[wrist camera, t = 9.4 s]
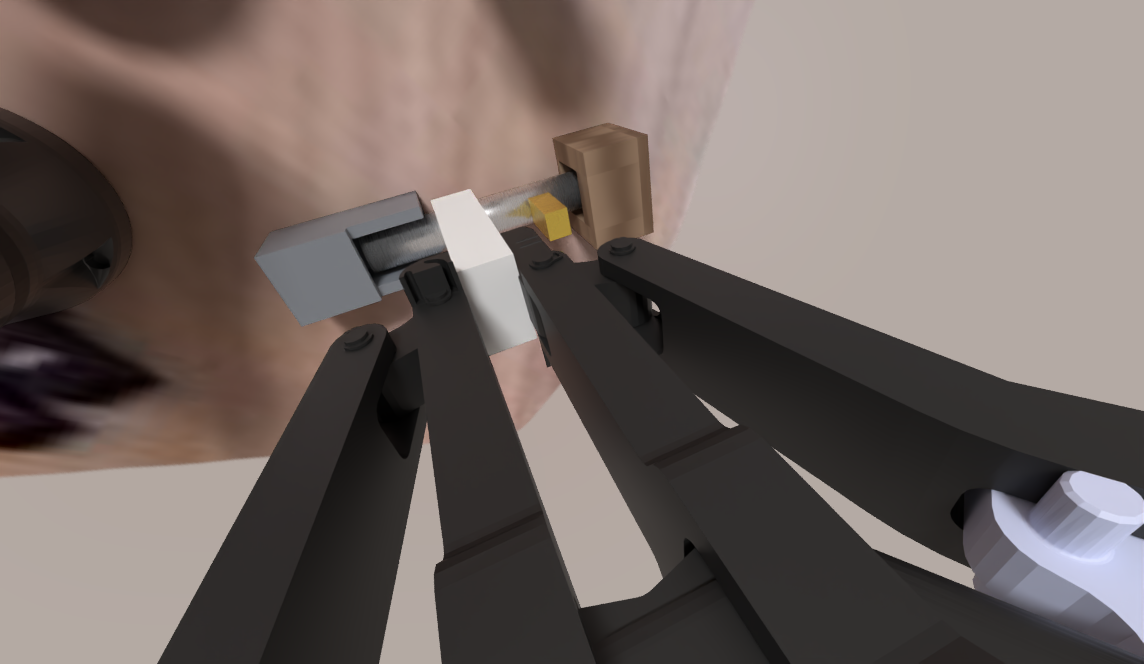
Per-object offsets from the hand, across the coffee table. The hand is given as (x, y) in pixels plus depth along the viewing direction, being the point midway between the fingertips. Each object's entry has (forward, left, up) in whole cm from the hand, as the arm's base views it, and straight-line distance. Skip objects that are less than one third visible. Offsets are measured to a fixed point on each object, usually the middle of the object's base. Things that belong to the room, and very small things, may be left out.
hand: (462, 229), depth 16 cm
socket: (+14, -8, -26) cm, 31 cm away
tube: (+3, -8, -26) cm, 28 cm away
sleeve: (-8, -8, -26) cm, 29 cm away
